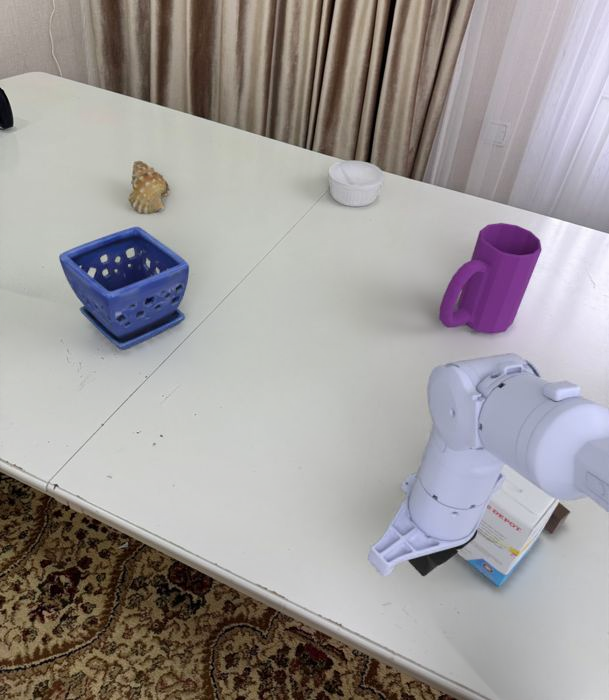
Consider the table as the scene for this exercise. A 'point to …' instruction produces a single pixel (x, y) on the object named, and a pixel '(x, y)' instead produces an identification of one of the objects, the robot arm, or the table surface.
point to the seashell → (147, 189)
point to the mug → (492, 280)
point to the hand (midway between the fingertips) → (420, 564)
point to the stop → (557, 518)
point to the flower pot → (128, 285)
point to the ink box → (509, 527)
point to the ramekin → (355, 182)
